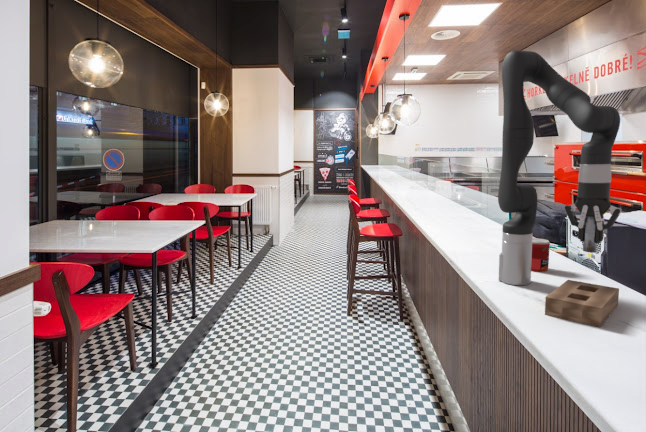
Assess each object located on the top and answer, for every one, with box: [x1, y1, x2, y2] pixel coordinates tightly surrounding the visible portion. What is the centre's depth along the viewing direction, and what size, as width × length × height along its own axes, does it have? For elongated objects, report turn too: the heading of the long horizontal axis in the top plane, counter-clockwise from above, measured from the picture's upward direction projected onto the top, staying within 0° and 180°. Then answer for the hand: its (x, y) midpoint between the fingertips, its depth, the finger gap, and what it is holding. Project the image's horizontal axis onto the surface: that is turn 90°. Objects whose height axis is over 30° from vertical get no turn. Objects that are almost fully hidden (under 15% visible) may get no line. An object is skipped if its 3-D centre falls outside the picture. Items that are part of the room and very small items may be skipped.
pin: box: [582, 216, 598, 253], centre depth 118 cm, size 3×3×10 cm
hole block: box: [544, 279, 620, 328], centre depth 117 cm, size 13×20×5 cm, turn 135°
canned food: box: [531, 237, 551, 273], centre depth 157 cm, size 8×8×11 cm
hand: (590, 241), depth 118 cm, fingers closed on pin, 3 cm apart
